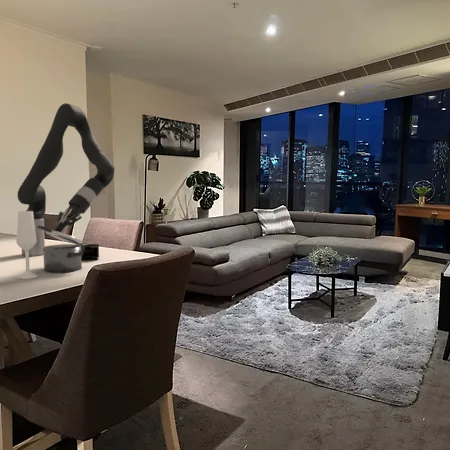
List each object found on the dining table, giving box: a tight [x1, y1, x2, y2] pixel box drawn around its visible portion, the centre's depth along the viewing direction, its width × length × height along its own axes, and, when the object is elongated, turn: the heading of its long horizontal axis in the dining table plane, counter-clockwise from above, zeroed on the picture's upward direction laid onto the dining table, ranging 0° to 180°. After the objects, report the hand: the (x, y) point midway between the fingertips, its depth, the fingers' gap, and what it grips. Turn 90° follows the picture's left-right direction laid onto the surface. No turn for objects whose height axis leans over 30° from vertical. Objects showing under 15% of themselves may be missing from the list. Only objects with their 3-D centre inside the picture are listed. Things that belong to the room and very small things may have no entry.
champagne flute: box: [15, 210, 39, 280], centre depth 146 cm, size 7×7×24 cm
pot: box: [43, 243, 86, 274], centre depth 161 cm, size 16×20×9 cm
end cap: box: [81, 243, 100, 262], centre depth 182 cm, size 10×7×7 cm
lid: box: [37, 226, 85, 245], centre depth 159 cm, size 19×14×1 cm
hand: (56, 231), depth 158 cm, fingers closed
